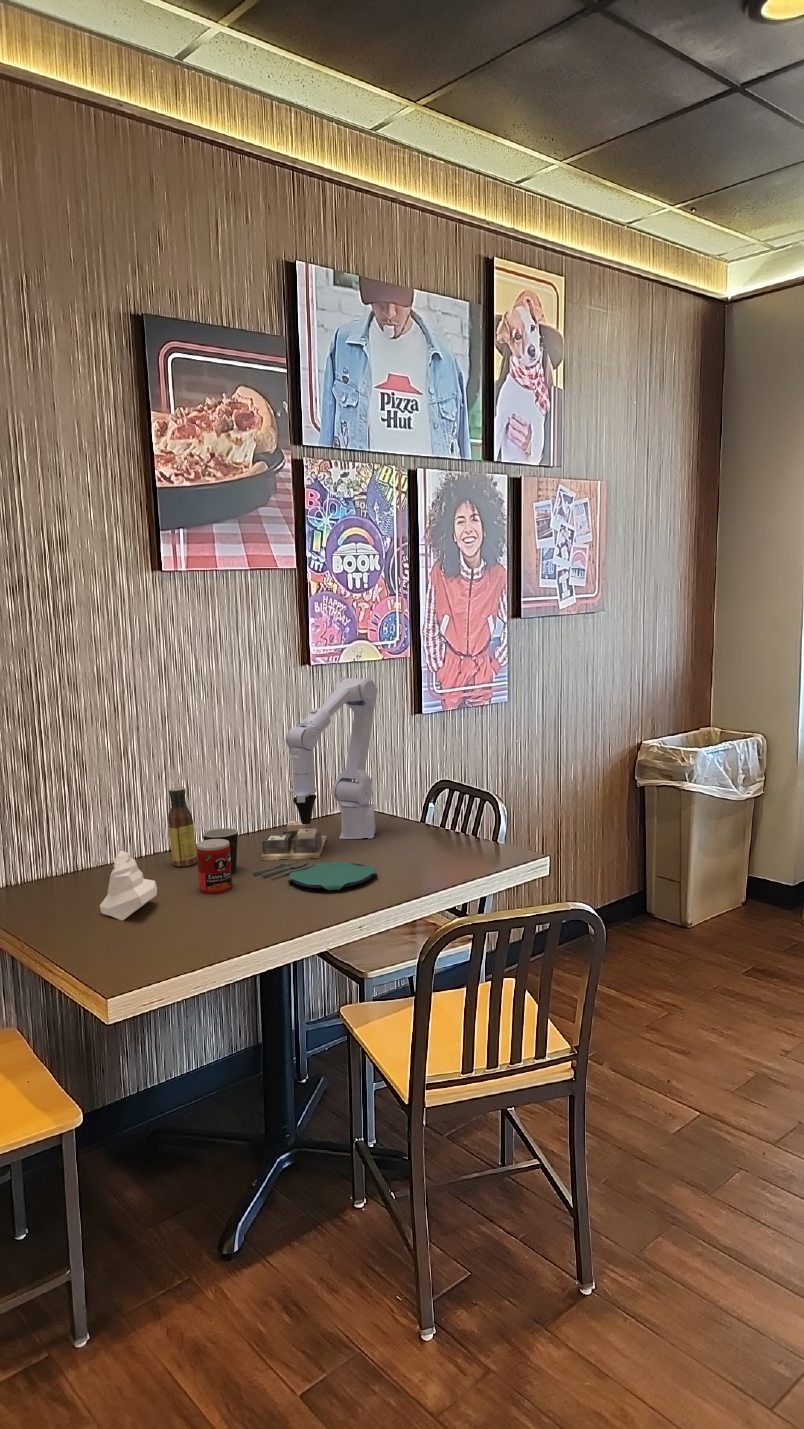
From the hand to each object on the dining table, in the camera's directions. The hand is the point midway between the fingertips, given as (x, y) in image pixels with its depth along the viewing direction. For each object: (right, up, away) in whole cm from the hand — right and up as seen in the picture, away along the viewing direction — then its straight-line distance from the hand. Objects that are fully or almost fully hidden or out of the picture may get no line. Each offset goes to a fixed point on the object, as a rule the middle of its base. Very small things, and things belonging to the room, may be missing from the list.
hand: (306, 823), depth 251 cm
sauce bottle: (-31, -10, -5) cm, 33 cm away
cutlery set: (+5, -11, -20) cm, 23 cm away
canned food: (-19, -13, -26) cm, 34 cm away
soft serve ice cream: (-35, -15, -39) cm, 55 cm away
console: (-3, -7, +5) cm, 10 cm away
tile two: (-8, -7, +1) cm, 10 cm away
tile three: (-3, -4, +10) cm, 11 cm away
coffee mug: (-19, -11, -14) cm, 26 cm away
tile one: (0, -5, +1) cm, 5 cm away
